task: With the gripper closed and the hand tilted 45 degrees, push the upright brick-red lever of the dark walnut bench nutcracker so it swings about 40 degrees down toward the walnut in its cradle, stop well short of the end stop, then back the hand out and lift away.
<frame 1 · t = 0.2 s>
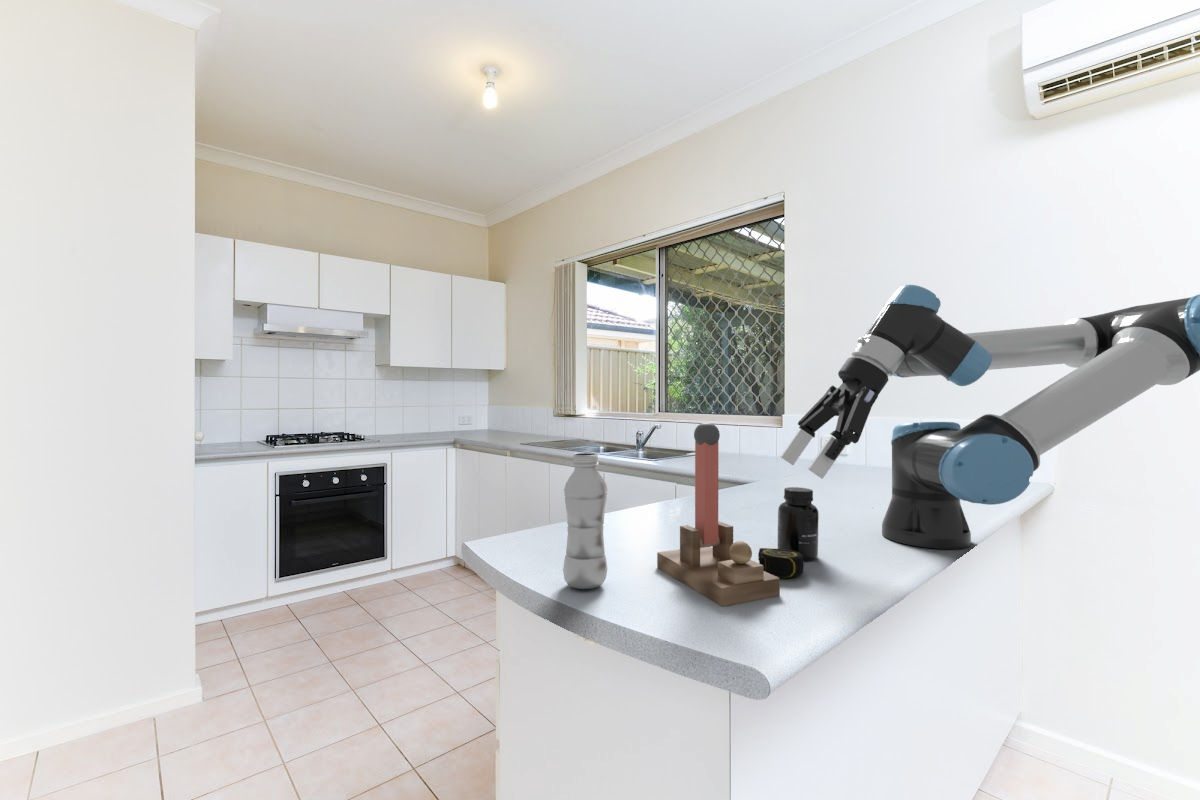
hand: (799, 467, 95), 16 cm above the table, fingers open, 13 cm apart
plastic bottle: (585, 587, 82), on the table
tape measure: (778, 574, 88), on the table
cracker base: (706, 576, 86), on the table
lever: (706, 484, 86), point 15 cm above the table, hinge at 0.0°
supplement bottle: (797, 557, 96), on the table
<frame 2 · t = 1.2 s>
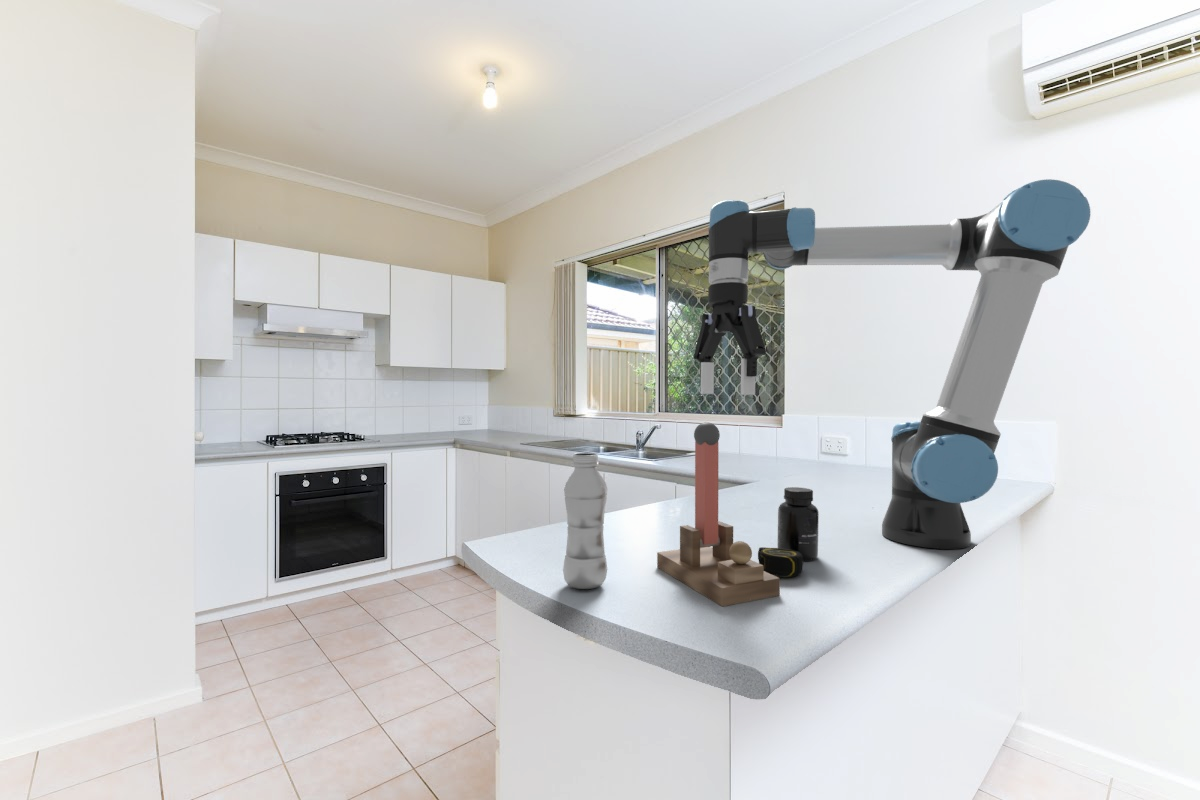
hand: (726, 394, 106), 29 cm above the table, fingers open, 12 cm apart
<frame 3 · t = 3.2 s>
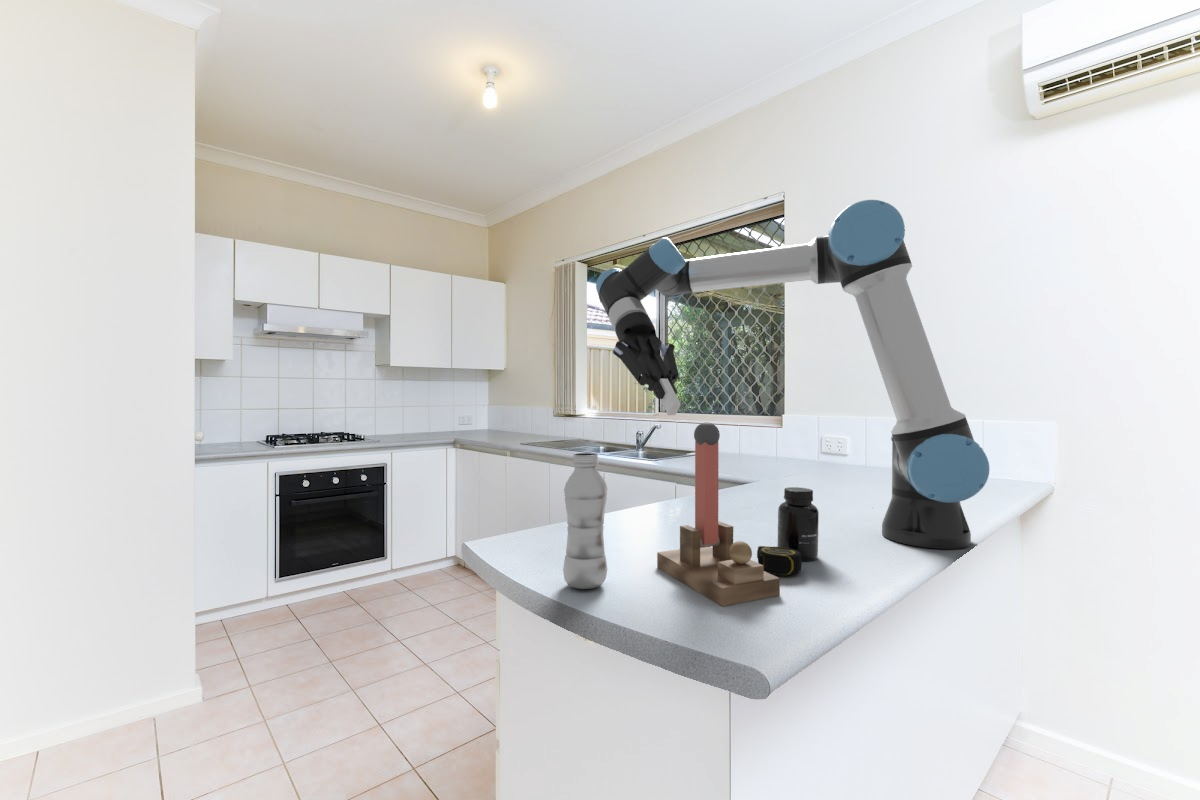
hand: (674, 409, 95), 26 cm above the table, fingers closed
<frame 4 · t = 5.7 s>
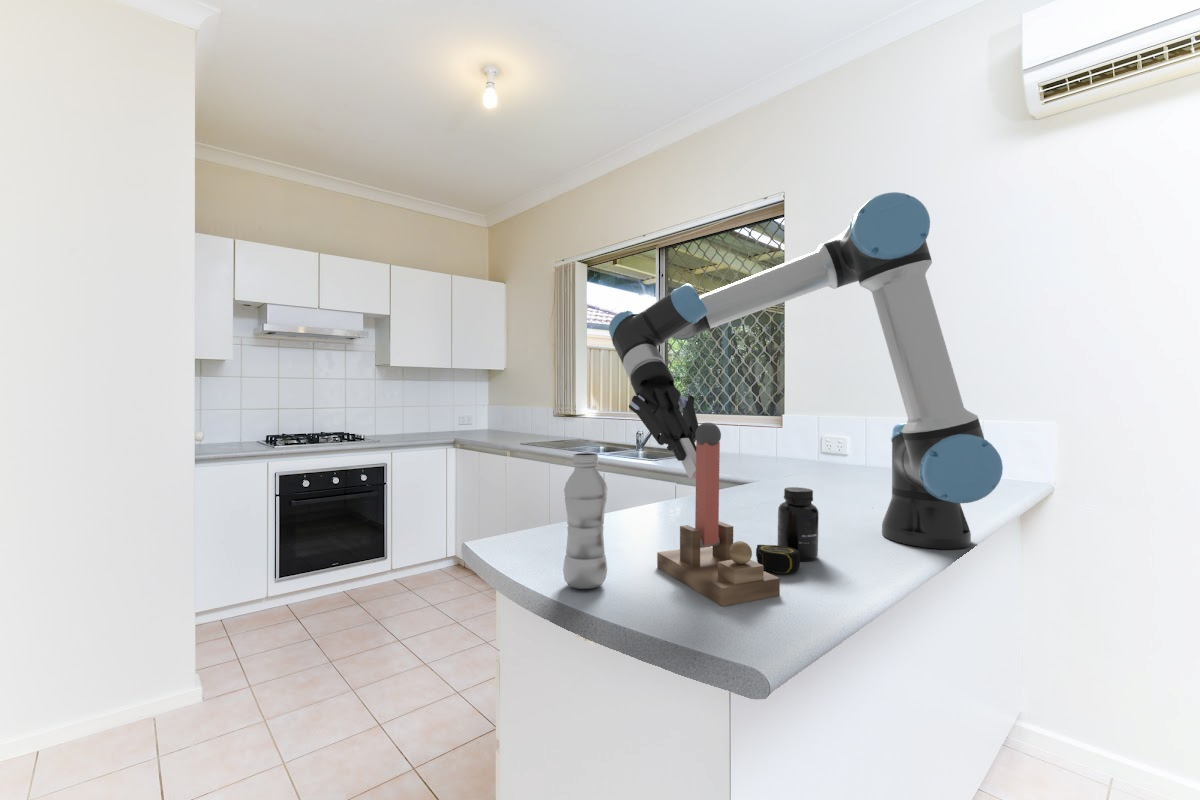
hand: (696, 474, 88), 16 cm above the table, fingers closed
lever: (707, 484, 86), point 15 cm above the table, hinge at 1.2°, touching gripper
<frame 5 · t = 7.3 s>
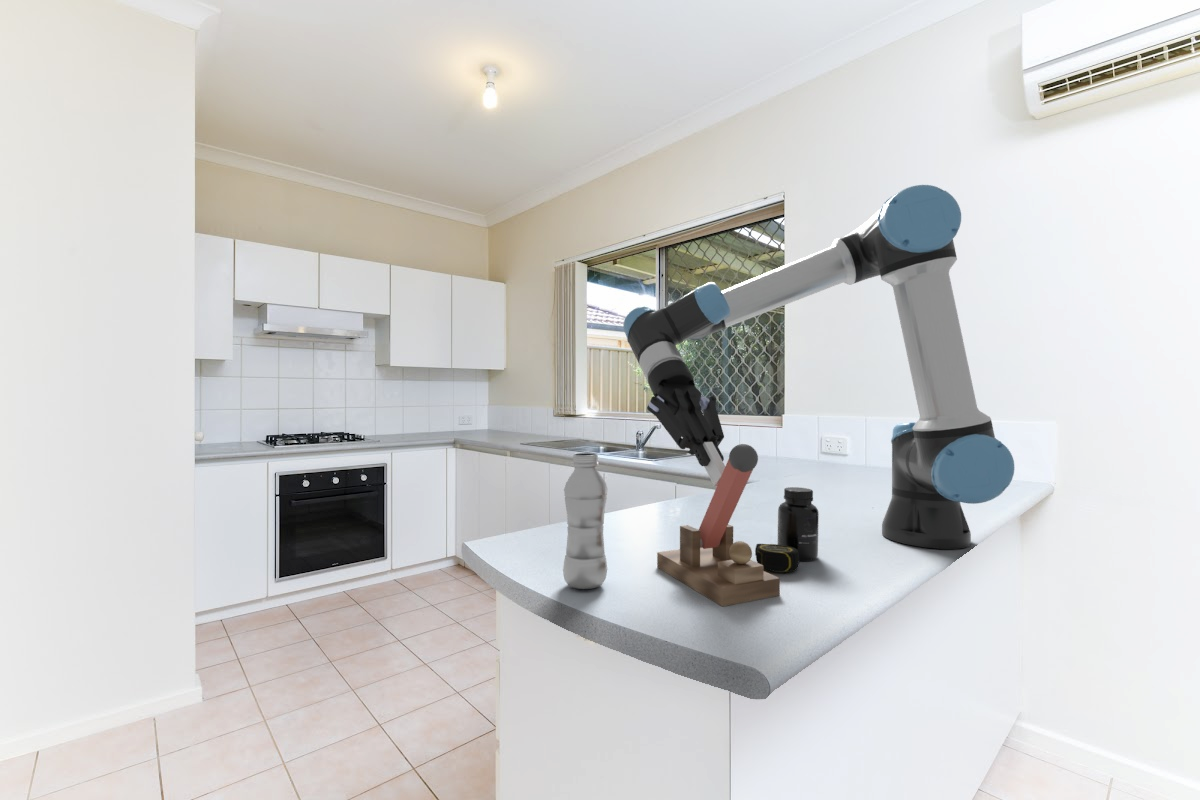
hand: (721, 480, 82), 16 cm above the table, fingers closed
lever: (725, 499, 81), point 13 cm above the table, hinge at 32.4°
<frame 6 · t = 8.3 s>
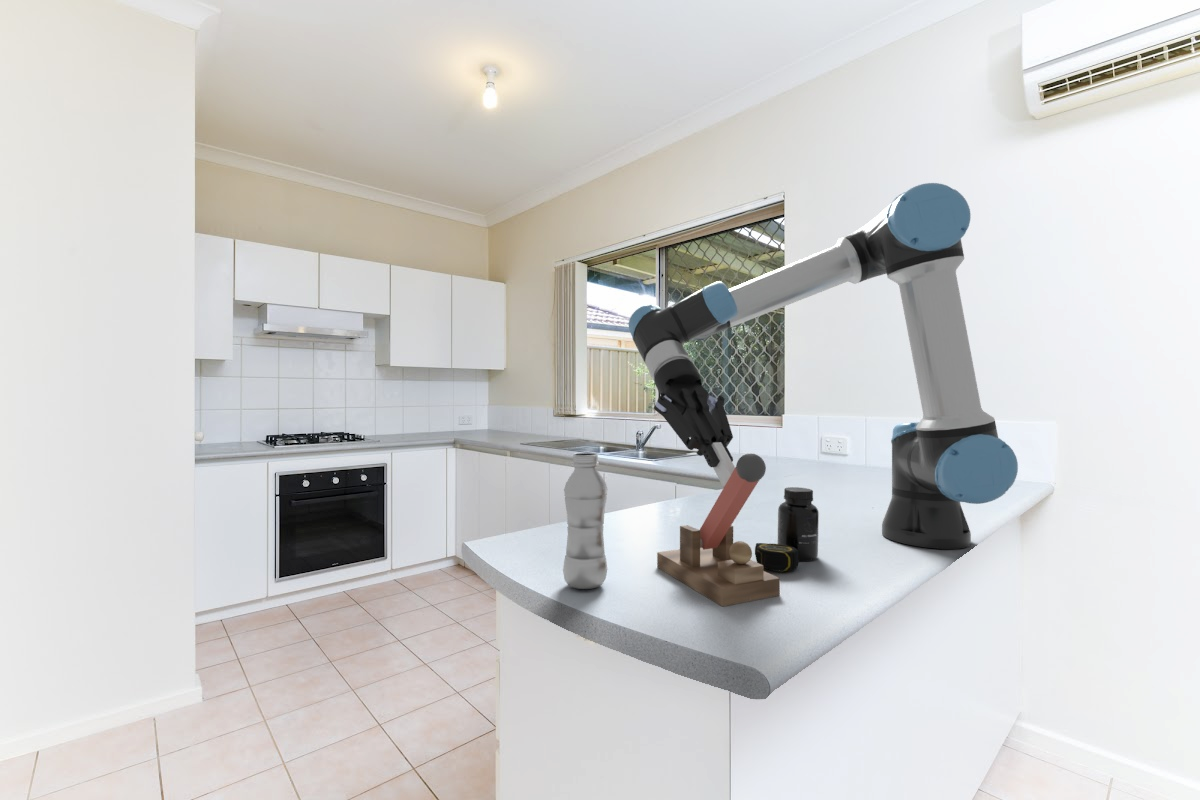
hand: (731, 481, 80), 16 cm above the table, fingers closed
lever: (728, 504, 81), point 13 cm above the table, hinge at 39.2°, touching gripper
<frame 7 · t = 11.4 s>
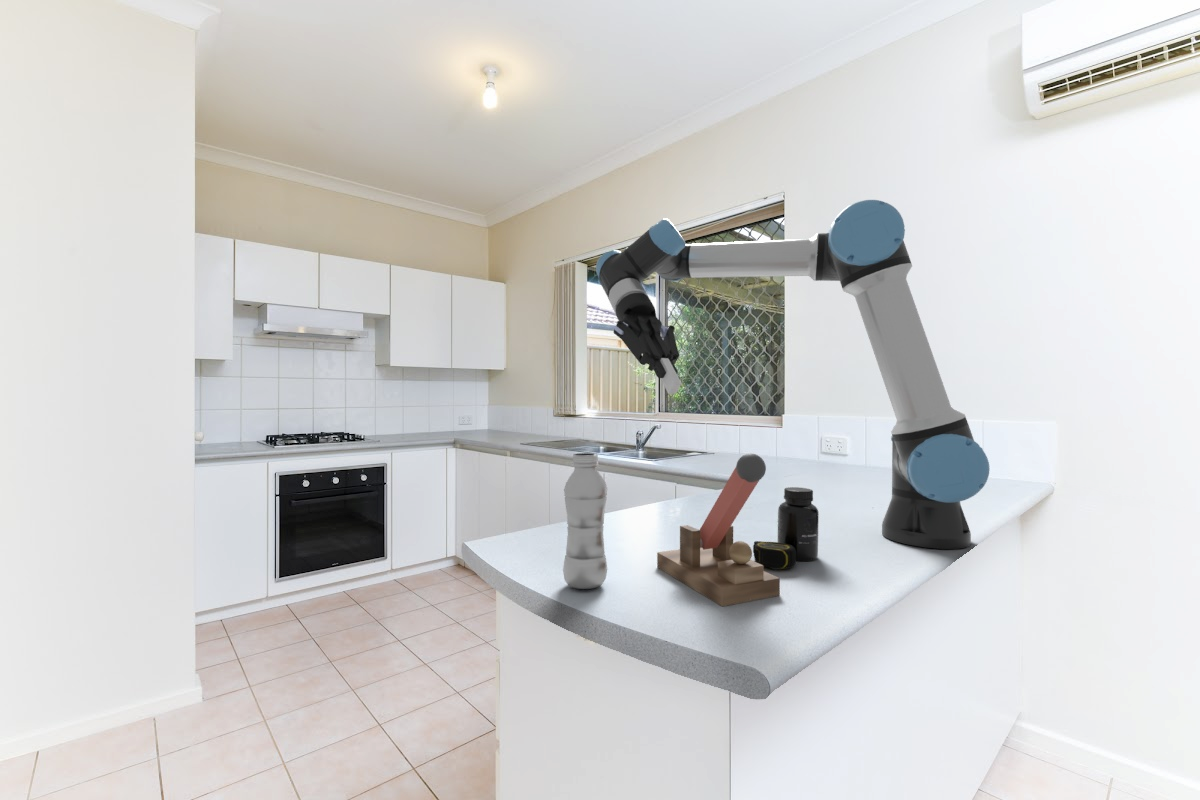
hand: (675, 388, 95), 30 cm above the table, fingers closed
tape measure: (772, 566, 92), on the table
lever: (728, 504, 81), point 13 cm above the table, hinge at 39.3°
everything else where it was.
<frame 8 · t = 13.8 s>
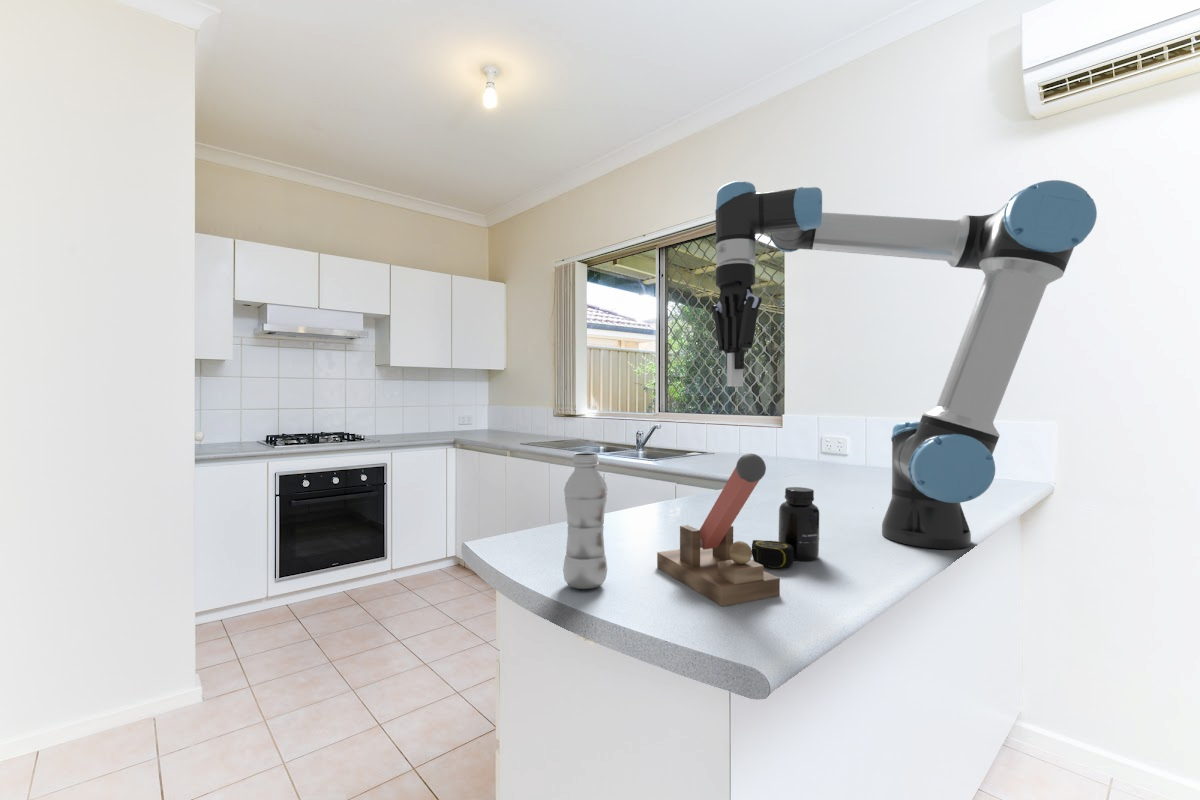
hand: (735, 386, 106), 30 cm above the table, fingers closed
at the end: lever at +39° (first picture: +0°) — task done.
